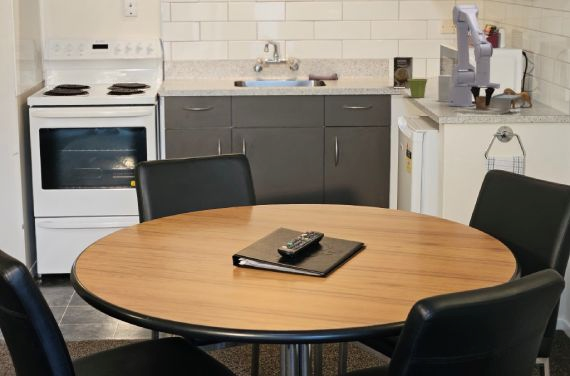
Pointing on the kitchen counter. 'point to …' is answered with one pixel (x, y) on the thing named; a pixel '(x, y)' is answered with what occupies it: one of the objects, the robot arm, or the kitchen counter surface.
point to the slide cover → (506, 97)
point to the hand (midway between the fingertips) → (482, 105)
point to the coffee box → (402, 71)
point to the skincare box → (444, 87)
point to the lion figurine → (524, 97)
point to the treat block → (481, 102)
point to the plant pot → (417, 87)
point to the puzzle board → (494, 107)
